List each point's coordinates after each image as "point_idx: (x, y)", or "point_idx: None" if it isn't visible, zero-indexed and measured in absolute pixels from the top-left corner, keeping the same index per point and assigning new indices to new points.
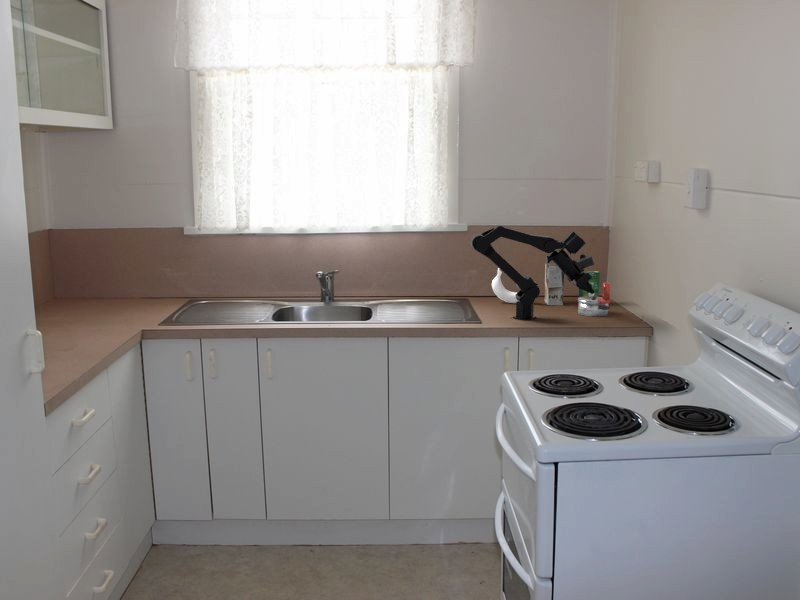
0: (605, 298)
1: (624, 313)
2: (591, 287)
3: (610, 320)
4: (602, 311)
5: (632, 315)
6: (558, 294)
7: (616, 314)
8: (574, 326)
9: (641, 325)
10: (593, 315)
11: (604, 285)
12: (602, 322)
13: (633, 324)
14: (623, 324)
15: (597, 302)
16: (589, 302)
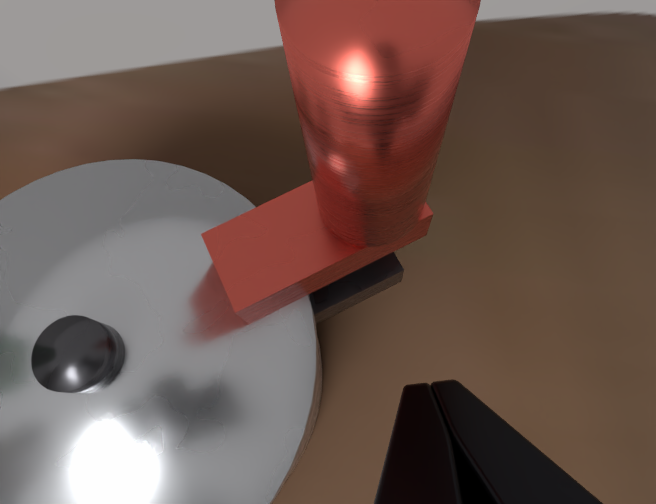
0: (426, 204)
1: (170, 103)
2: (577, 485)
3: (487, 246)
4: None
5: (249, 57)
6: None
7: (210, 166)
8: None
9: (640, 36)
10: (321, 390)
11: (438, 85)
12: (605, 334)
13: (617, 85)
14: (643, 158)
15: (315, 328)
16: (297, 449)
